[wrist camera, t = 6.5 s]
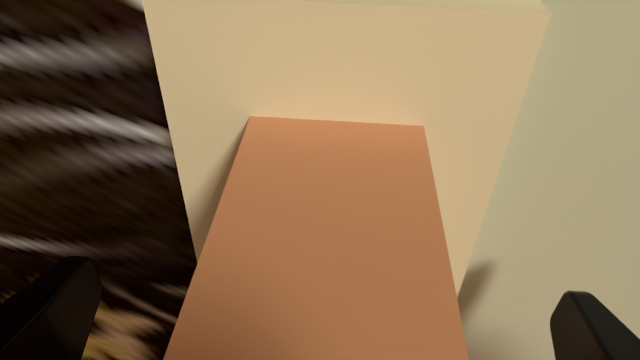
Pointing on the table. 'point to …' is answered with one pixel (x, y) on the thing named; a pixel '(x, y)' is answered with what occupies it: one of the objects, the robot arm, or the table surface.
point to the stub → (336, 166)
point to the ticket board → (563, 188)
